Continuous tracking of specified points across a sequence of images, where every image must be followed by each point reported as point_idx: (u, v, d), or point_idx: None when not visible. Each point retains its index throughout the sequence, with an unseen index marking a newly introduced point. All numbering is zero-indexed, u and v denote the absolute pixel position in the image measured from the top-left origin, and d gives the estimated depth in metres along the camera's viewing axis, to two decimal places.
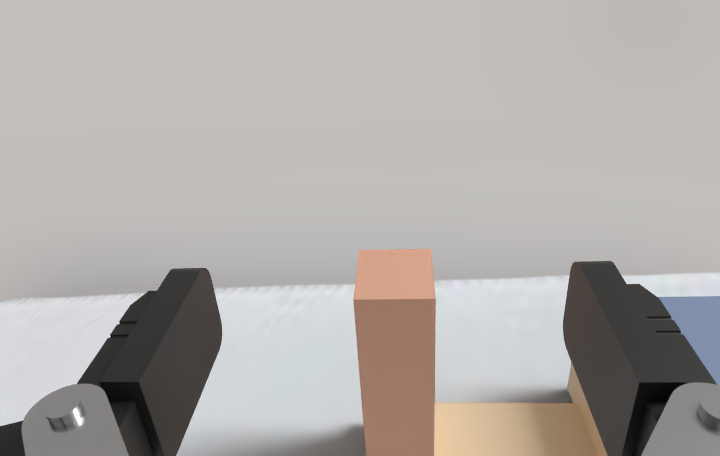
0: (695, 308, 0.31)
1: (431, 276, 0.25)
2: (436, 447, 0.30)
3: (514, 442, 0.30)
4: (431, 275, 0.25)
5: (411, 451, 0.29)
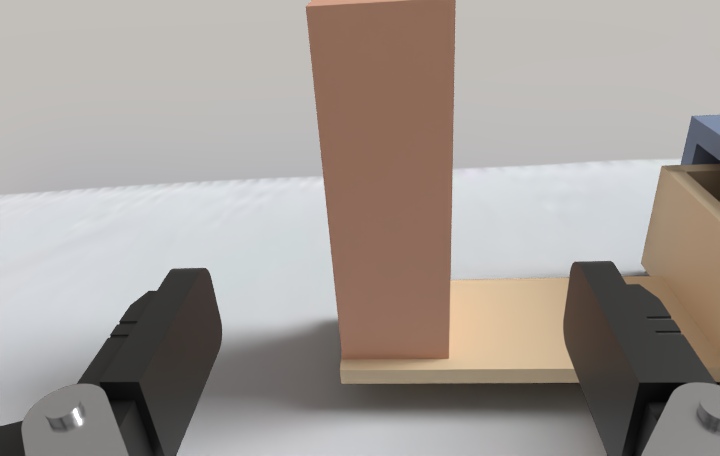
0: None
1: None
2: (451, 332, 0.19)
3: None
4: None
5: (412, 328, 0.18)
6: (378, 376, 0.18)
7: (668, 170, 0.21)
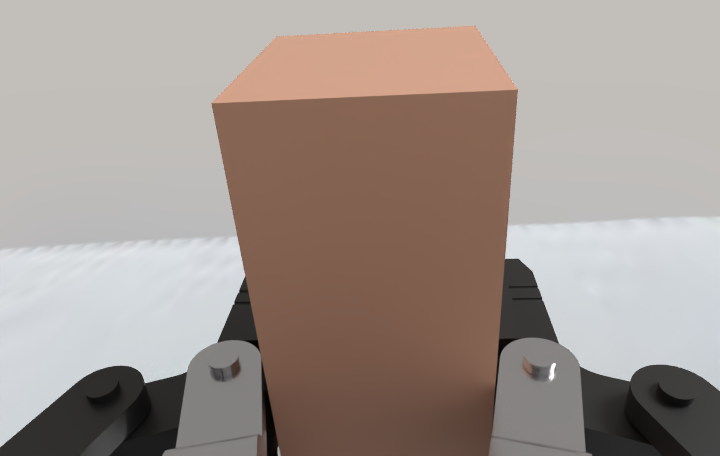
0: None
1: (489, 56, 0.08)
2: None
3: None
4: (488, 55, 0.08)
5: None
6: None
7: None
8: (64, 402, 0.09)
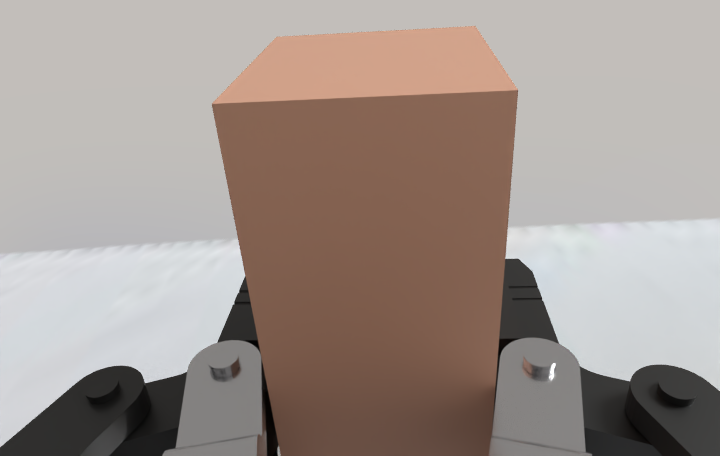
0: None
1: (489, 56, 0.08)
2: None
3: None
4: (488, 55, 0.08)
5: None
6: None
7: None
8: (64, 402, 0.09)
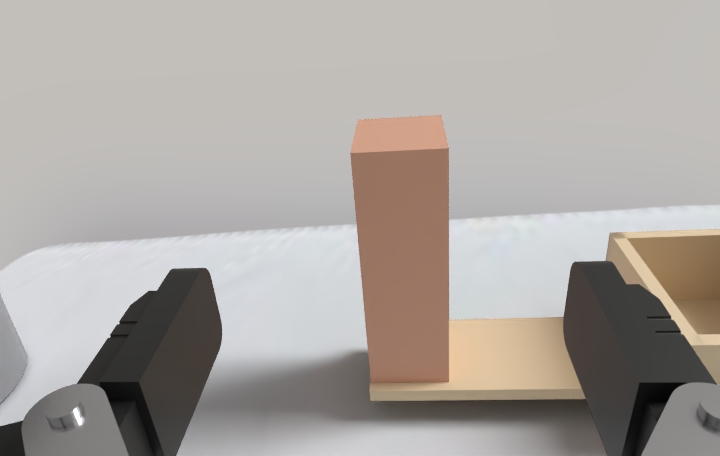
0: None
1: (442, 133, 0.21)
2: (451, 361, 0.26)
3: (541, 354, 0.26)
4: (442, 132, 0.21)
5: (422, 360, 0.24)
6: (398, 395, 0.25)
7: (614, 237, 0.28)
8: None
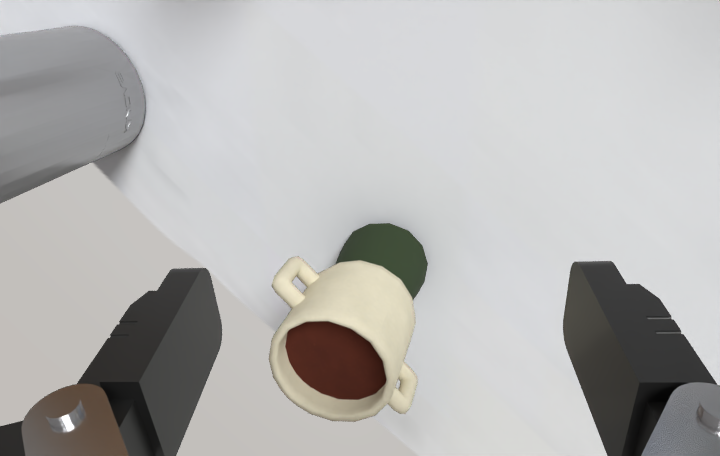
0: None
1: None
2: None
3: None
4: None
5: None
6: None
7: None
8: None
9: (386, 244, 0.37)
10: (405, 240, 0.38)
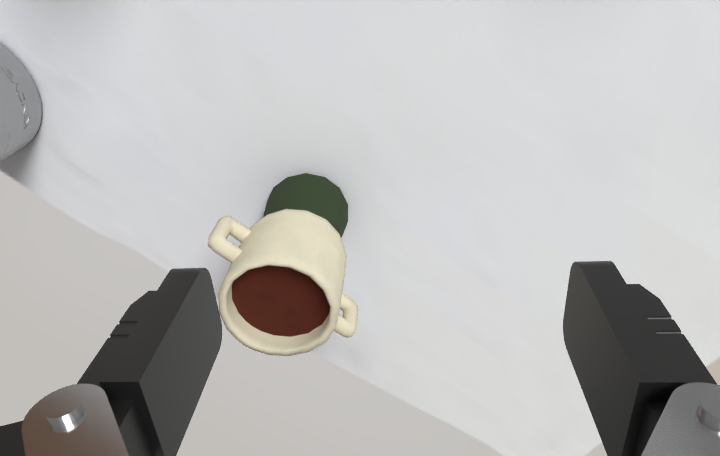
0: None
1: None
2: None
3: None
4: None
5: None
6: None
7: None
8: None
9: (306, 192, 0.39)
10: (323, 185, 0.40)
